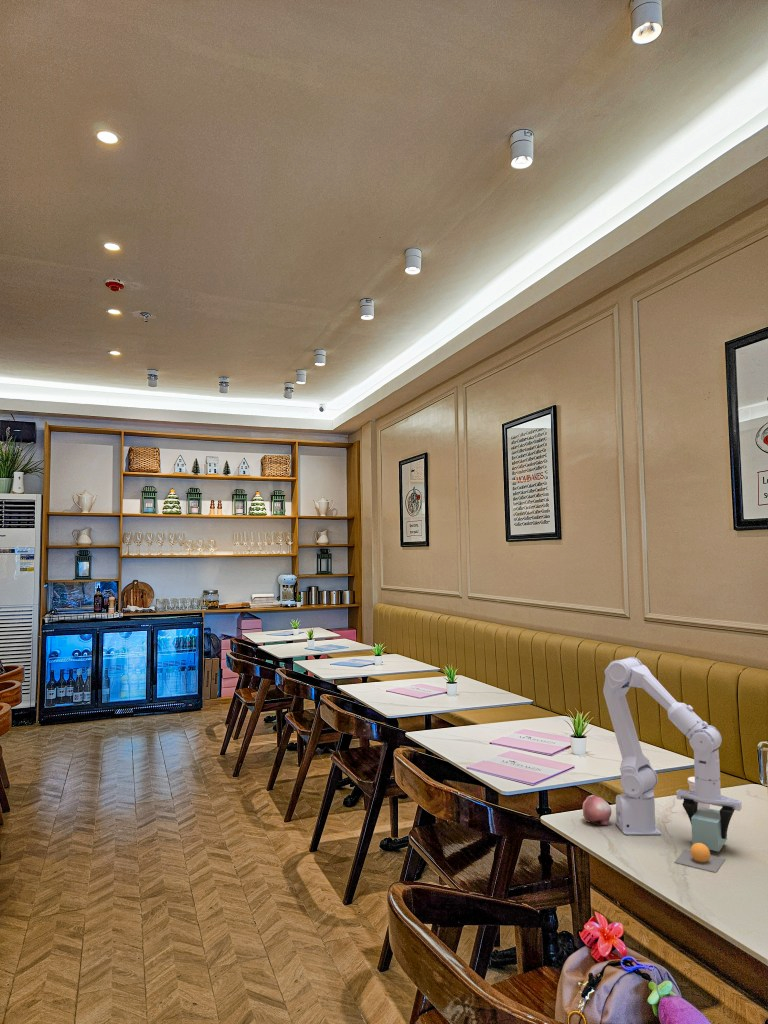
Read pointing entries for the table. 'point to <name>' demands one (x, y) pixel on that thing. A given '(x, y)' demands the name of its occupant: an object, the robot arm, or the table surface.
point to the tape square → (688, 860)
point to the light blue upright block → (707, 828)
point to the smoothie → (692, 787)
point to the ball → (700, 852)
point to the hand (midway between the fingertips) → (709, 834)
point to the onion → (596, 810)
